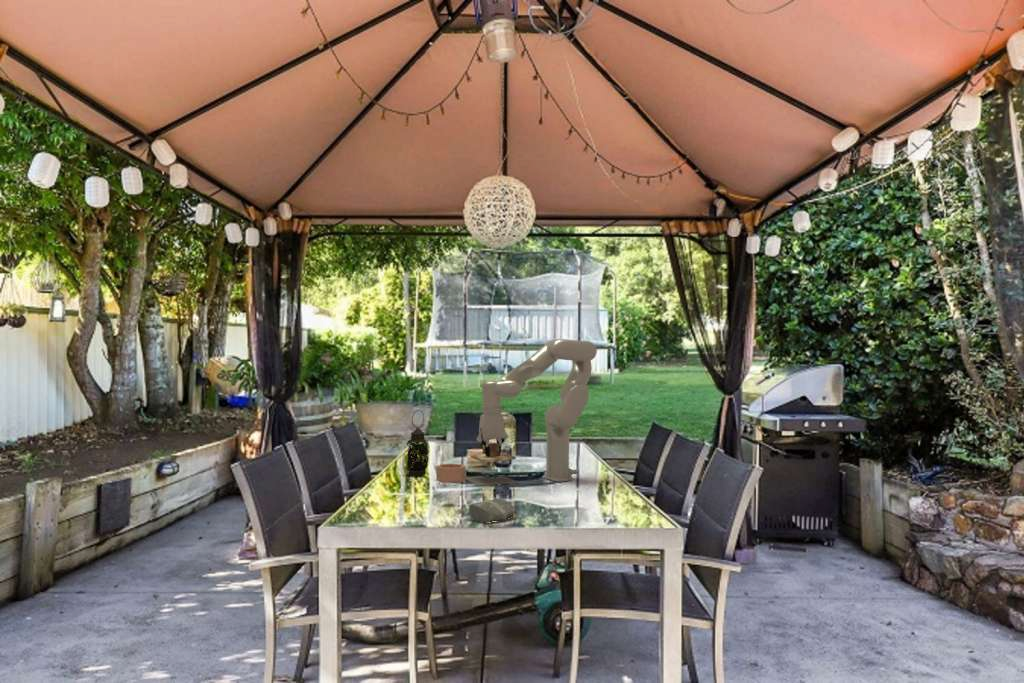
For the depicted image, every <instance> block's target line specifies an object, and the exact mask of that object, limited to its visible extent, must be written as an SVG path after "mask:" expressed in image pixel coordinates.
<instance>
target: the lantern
mask: <svg viewBox="0 0 1024 683" xmlns="http://www.w3.org/2000/svg"><path fill="white" fill-rule="evenodd" d="M416 412H421V414H422V415H423V416H422V417H423V418H422V419H423V420H422V424H421V425H420V426H415V425H414V424H415V423H414V421H413V417H414V415H415V414H416ZM424 421H425V415H424V412H423V411H422V410H420V409H417V410H415V411H414V412H413V414H412V416H411V423H412V425H413V427H414V428H415V430H413V431H412V432H410V435H411V436H410V438H409V439H408V440H407V442H406V446H407V447H408V448H407V455H406V456H407V460H406V470H407V471H408V476H409V477H413V478H416V477H417V478H421V477H425V475H427V471H426V470H427V467H428V465H429V464H428V463H429V459H430V458H429V456H428V455H429V450H428V443H427V442H428V440H427V439H426V438H425V435H426V433H425V432H424V431H422V430H421V429H420V427H422V426H423V424H424V423H425V422H424Z"/></svg>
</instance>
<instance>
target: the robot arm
mask: <svg viewBox="0 0 1024 683" xmlns="http://www.w3.org/2000/svg"><path fill="white" fill-rule="evenodd" d="M597 353H598V350H597V346H596V345H595V344H594V343H593V342H591V341H589V340H573V339H564V338H554V339H551V340H550V339H549V341H547V342H546V343H545V344H544V345H543V346H541V347H540V348H539V349H538V350H537V351H535V353H533V354H532V355H531V356H530V357H528V358H527V359H526V360H525V361H523V362H522V363H520V364H519V365H517V366H515V367H514V368H513V369H512V370H510V371H509V372H508V373H507V374H506V375H504V376H502V378H501V379H500V380H499V381H498V380H486V381H483V382H482V384H481V388H482V389H481V391H482V392H481V395H482V396H481V397H482V398H481V399H482V401H481V402H482V414H480V417H479V425H478V427H479V428H478V435H477V437H476V441H478V442H479V443H481V445H482V446H484V454H486V456H488V457H490V447H489V443H490V440H495V443H497V444H499V456H500V453H501V452H502V446H503V444H504V443H505V442H506V440H507V439H509V435H508V434H507V432H506V426H505V420H504V416H503V413H502V412H503V411H505V409H504V407H502V405H501V404H502V398H503V399H515V398H517V397H518V396H519V395H520V393H521V385H523V384H524V383H526V382H527V381H530V380H531V379H535V378H537V377H539V376H541V375H542V374H544V372H546V371H547V370H548V369H549V368H550V367H551V366H553V365H554V364H555V363H556V362H557V361H558V360H563V361H571V365H572V366H571V370H570V372H569V374H568V376H567V377H566V380H564V381H565V382H564V383H563V385H562V386H561V388H560V390H559V398H560V400H561V404H559V403H555V404H552V405H550V406H549V407H548V408H547V410H546V411H545V416H544V417H545V419H544V420H545V427H546V451H545V452H546V456H545V457H546V458H545V459H546V464H545V473H546V474H543V475H542V479H543V480H546V481H549V482H553V483H554V482H555V483H556V482H557V483H560V482H562V483H563V482H570V481H572V480H573V476H572V475H579V474H580V470H579V469H574V468H573V469H572V468H570V431H569V429H571V428H573V427H574V426H575V425H576V424H577V422H578V420H579V419H580V416H581V415H582V413H583V412H584V410H585V408H586V406H587V404H588V401H589V398H590V391H589V389H588V388H587V384H588V382H589V380H590V378H591V375H592V369H593V367H592V360H594V359H595V358H596V355H597Z"/></svg>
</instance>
